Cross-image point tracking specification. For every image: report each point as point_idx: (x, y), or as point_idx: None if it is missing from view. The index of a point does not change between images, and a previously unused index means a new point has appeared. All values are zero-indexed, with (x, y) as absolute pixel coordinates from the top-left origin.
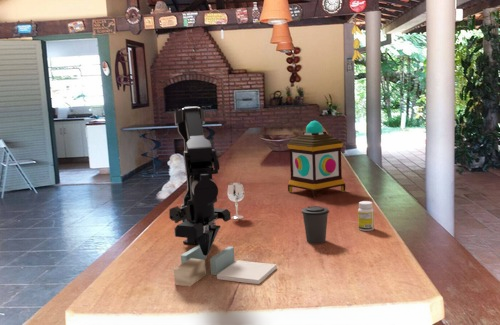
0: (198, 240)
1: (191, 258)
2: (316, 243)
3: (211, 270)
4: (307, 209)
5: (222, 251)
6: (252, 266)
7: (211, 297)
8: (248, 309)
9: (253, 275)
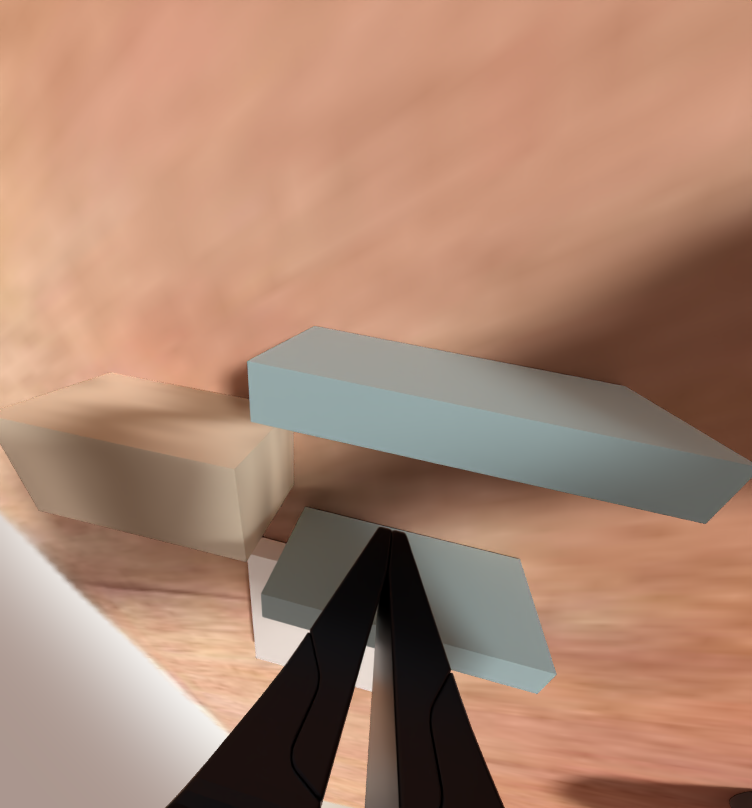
0: (266, 702)
1: (232, 476)
2: (733, 801)
3: (297, 524)
4: None
5: None
6: None
7: (106, 540)
8: (109, 617)
9: (290, 650)
